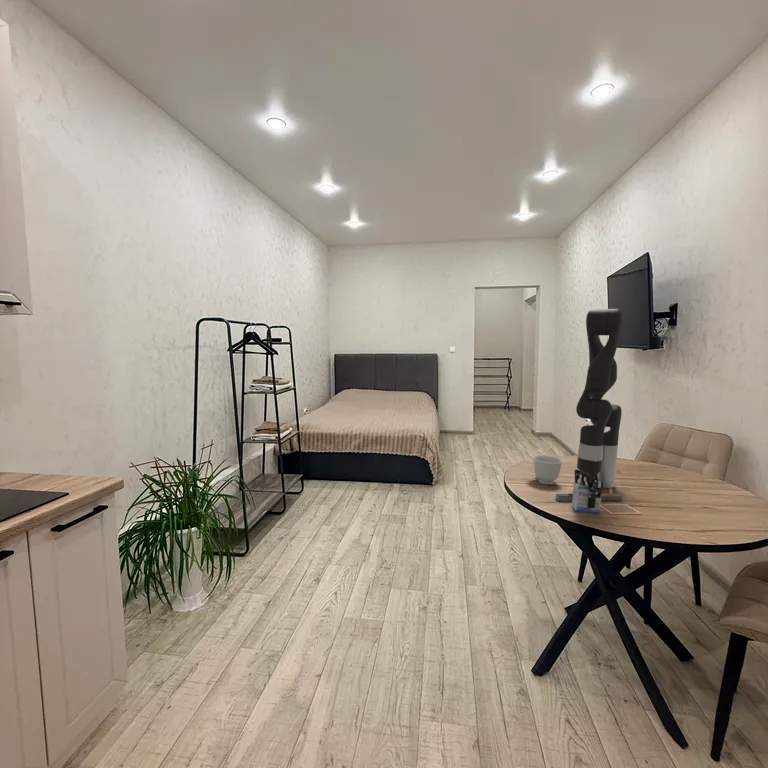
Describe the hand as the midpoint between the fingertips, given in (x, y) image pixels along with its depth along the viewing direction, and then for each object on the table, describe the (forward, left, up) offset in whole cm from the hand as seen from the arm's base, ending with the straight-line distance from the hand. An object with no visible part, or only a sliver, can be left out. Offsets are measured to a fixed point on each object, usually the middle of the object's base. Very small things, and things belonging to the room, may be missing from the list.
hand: (586, 504), depth 143 cm
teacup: (-29, -1, -2) cm, 29 cm away
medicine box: (0, 0, -2) cm, 2 cm away
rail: (-9, +6, -2) cm, 11 cm away
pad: (0, +12, -2) cm, 12 cm away
